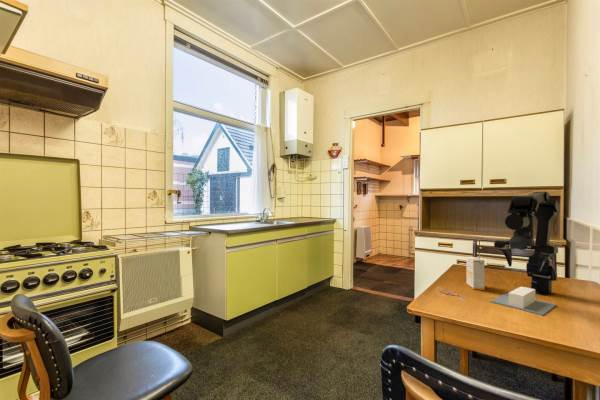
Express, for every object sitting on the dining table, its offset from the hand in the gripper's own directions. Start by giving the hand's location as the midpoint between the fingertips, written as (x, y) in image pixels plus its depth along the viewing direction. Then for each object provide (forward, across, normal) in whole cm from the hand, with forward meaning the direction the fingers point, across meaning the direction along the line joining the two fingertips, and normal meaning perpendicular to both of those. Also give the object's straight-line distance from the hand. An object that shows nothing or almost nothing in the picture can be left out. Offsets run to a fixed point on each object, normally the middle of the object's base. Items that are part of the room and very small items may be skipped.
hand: (524, 268), depth 109 cm
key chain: (+14, -20, -15) cm, 28 cm away
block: (+10, 0, +4) cm, 11 cm away
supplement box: (+13, -20, +5) cm, 24 cm away
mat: (+13, 0, -2) cm, 13 cm away
